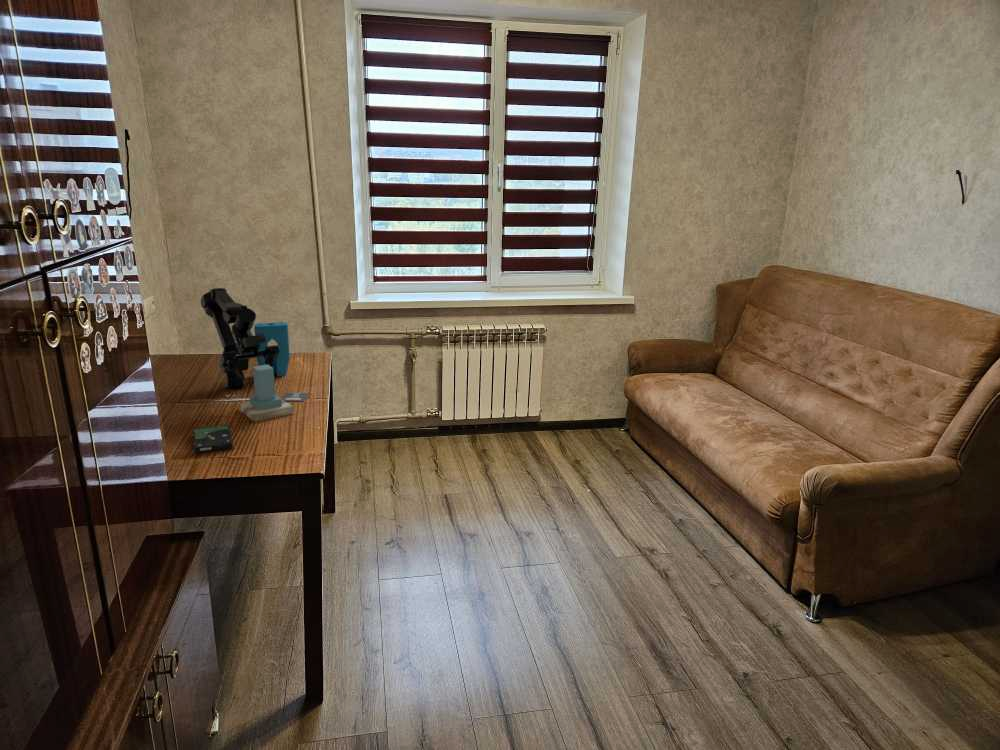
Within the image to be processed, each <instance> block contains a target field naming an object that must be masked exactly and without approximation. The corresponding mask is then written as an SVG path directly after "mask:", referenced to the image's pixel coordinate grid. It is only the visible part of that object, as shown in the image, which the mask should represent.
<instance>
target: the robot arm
mask: <svg viewBox="0 0 1000 750" xmlns="http://www.w3.org/2000/svg"><path fill="white" fill-rule="evenodd" d="M200 305H201V308H202V309H203V310H204V312H205V314H206V315H207V316H209V317H210V318H212V320H213V323H214V326H215V329H216V332H217V335H218V336H219V337H218V338H219V340H220V343H221V345H222V348H223V351H222V354H221V356H220V359H219V362H220V363H219V370H220V372H222V373H223V374H224V375H225V376H226V384H225V386H224V387H223V389H227V390H228V389H229V390H230V389H231V390H241V389H243V388H244V387H245V386H246V385H247V384H248V382H246V381H245V380H246V378H245V375H244V371H248V369H249V359H255V358H256V359H257V357H263V356H264V358H265V359H266V361H265V363H266V365H267V364H268V365H270V366H271V367H272V368H273V361H274V360H275V359H277V357H278V355H279V352H280V349H279V347H278V346H277V344H273V345H268V346H266V348H265V351H258V349H259V348H260V346H259V345H261V343H264V342H266V338H265V335H264V333H258V334H257V336H255V334H254V335H253V333H252V330H251V329H253V327H254V324H255V321H256V318H257V314H256V312H255V311H254V310H253V309H251V308H248V306H247V305H243V304H242V303H239V302H235V301H234V299H233V298H232V297H231V295H229V293H228V291H227V289H226V288H224V287H215V288H211V289H209V291H208V292H206V293H205V294H203V295H202V296H201V298H200ZM230 324H233V325H232V326H230Z"/></svg>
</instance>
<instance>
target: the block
mask: <svg viewBox="0 0 1000 750" xmlns="http://www.w3.org/2000/svg"><path fill="white" fill-rule="evenodd" d="M253 327H254V336H257V334H258V333H264V335H265V338H266V342H264V343H261V345H259V346H260V348H259V349H258V351H265V348H266V346H269V345H268V343H270V341H271V340H272V341H274V342H275V343H276V346H278V347H279V349H280V352H279V355H278V357H277V359H275V360H274V361H273V371H274V375H275V374H277V377H282V376H286V375H287V373H288V368H289V363H290V360H291V359H290V358H291V356H290V355H291V354H290V341H289V339H290V338H289V324H288V322H287V321H283V322H281V321H279V322H262V323H261V322H258V323H257V322H256V323H255V322H254V324H253ZM265 361H266V359H265V358H264V356H263V357H257V358H256V362H257V364H258V366H261V365H266V363H265Z"/></svg>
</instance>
